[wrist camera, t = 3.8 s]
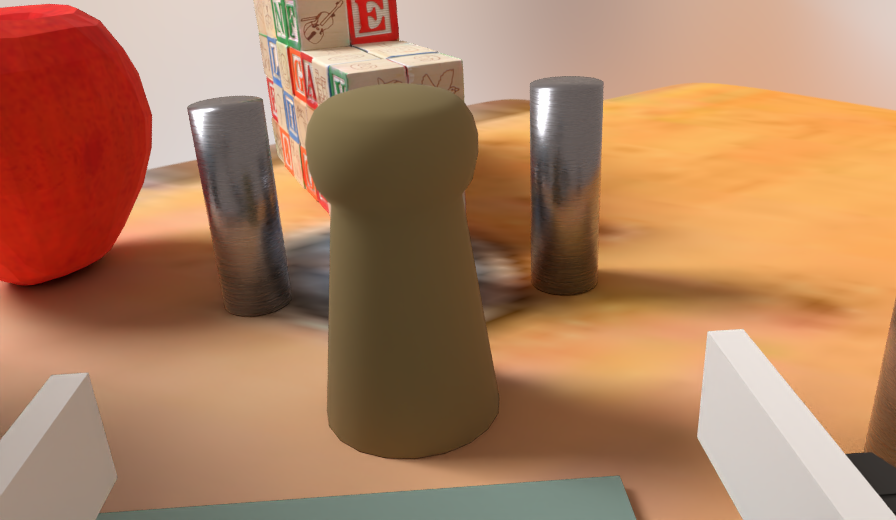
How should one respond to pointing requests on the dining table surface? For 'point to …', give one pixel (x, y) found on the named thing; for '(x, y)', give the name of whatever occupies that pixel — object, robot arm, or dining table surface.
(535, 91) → the spacer posts
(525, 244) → the dining table surface
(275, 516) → the mat
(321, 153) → the cork
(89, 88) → the apple
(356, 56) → the stack of blocks
